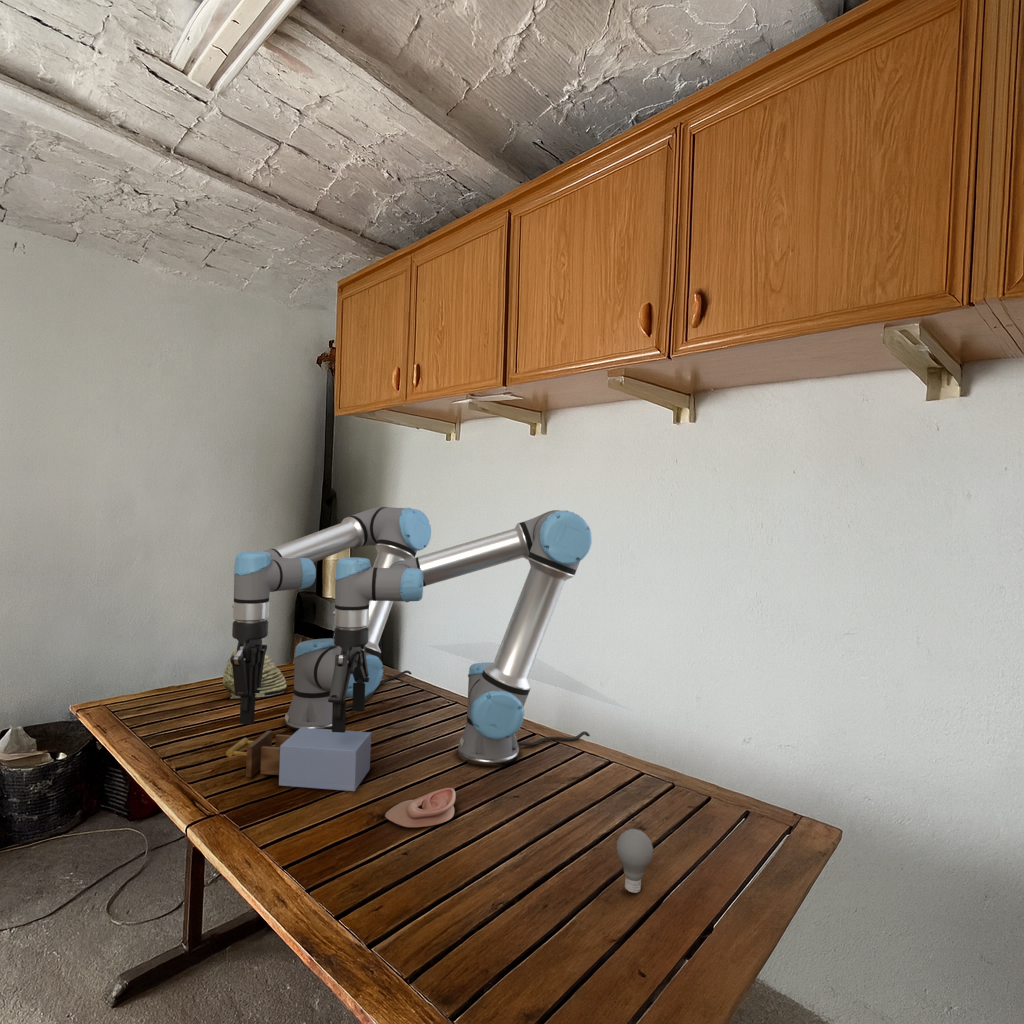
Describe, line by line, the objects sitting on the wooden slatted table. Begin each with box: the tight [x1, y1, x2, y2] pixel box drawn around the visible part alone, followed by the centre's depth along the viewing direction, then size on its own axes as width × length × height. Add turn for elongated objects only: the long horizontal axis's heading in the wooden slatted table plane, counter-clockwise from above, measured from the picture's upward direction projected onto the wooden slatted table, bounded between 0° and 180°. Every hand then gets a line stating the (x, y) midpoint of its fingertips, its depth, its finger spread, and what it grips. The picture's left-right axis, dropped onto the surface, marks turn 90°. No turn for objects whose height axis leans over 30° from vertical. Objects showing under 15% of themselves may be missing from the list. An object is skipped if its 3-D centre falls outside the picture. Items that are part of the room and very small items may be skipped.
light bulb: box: [615, 828, 654, 894], centre depth 106 cm, size 6×6×10 cm
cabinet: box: [278, 728, 372, 792], centre depth 143 cm, size 17×11×9 cm, turn 86°
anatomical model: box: [384, 787, 457, 828], centre depth 128 cm, size 13×4×12 cm
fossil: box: [222, 648, 288, 699], centre depth 198 cm, size 9×18×15 cm, turn 132°
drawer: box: [225, 730, 293, 778], centre depth 144 cm, size 21×10×7 cm, turn 86°
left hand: (246, 722), depth 144 cm, fingers closed
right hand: (349, 720), depth 142 cm, fingers open, 13 cm apart
